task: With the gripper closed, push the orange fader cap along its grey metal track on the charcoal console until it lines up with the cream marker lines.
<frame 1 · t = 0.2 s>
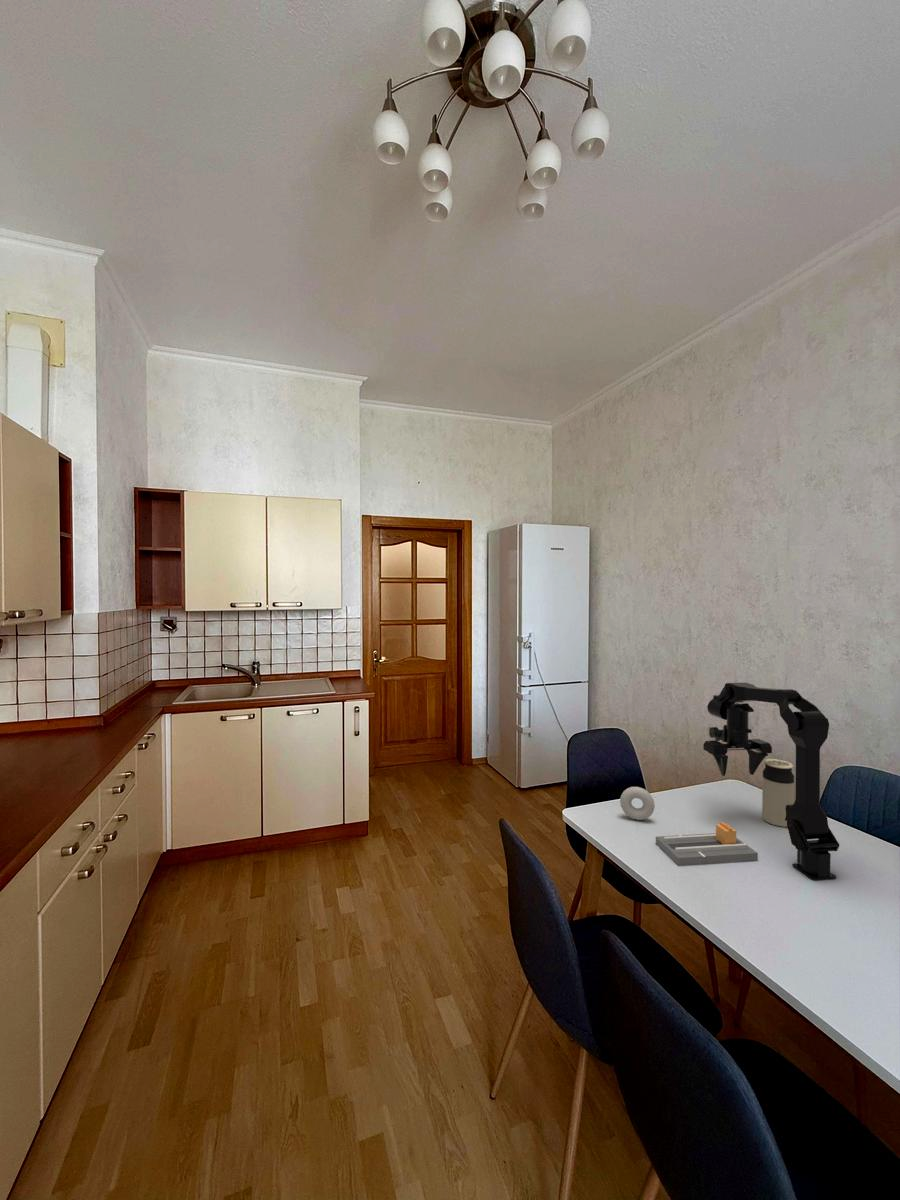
hand: (737, 775, 150), 14 cm above the table, tool pointing down, fingers open, 9 cm apart
travel mug: (777, 822, 150), on the table
console: (705, 851, 133), on the table
donut: (637, 820, 151), on the table
fader cap: (725, 833, 133), point 5 cm above the table, slide at 0.0 cm
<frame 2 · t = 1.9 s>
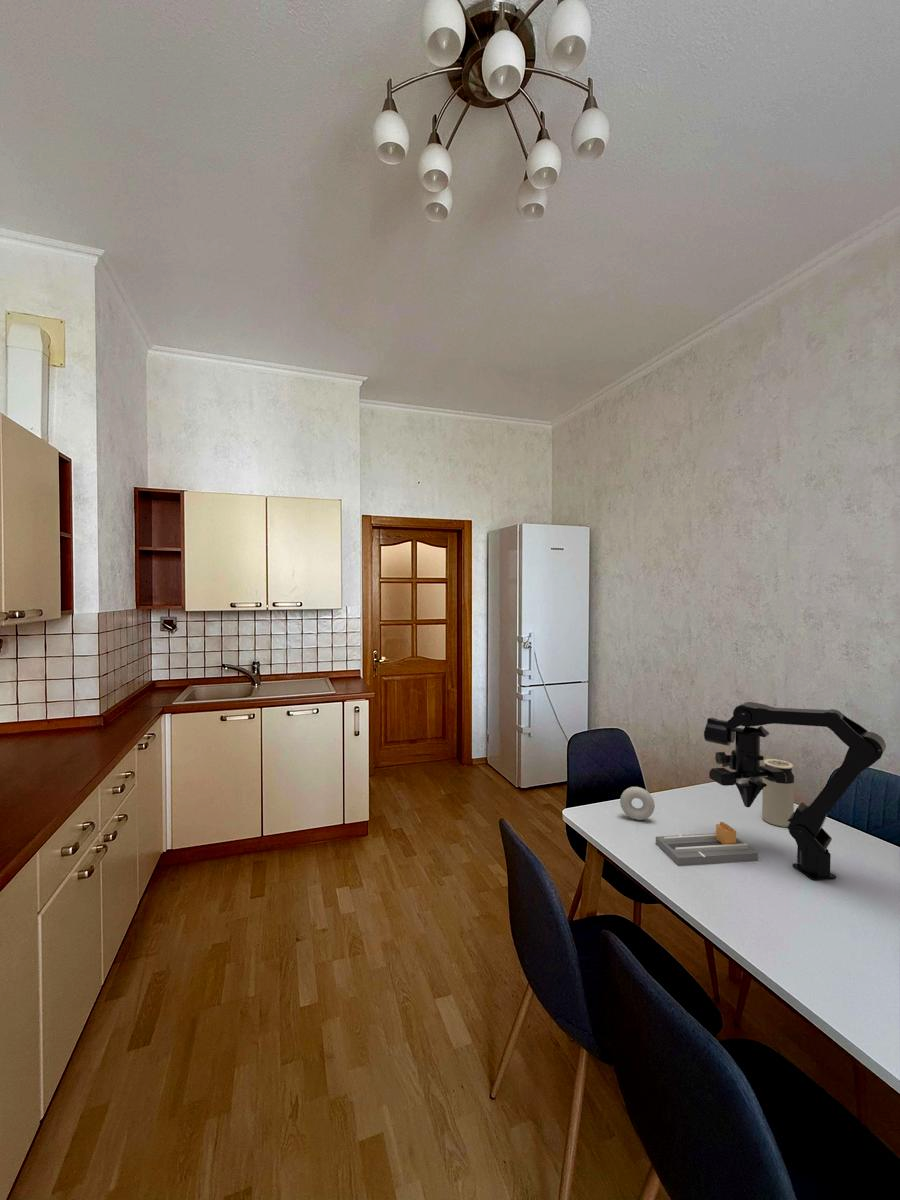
hand: (747, 806, 134), 12 cm above the table, tool pointing down, fingers closed
nothing on the table moved.
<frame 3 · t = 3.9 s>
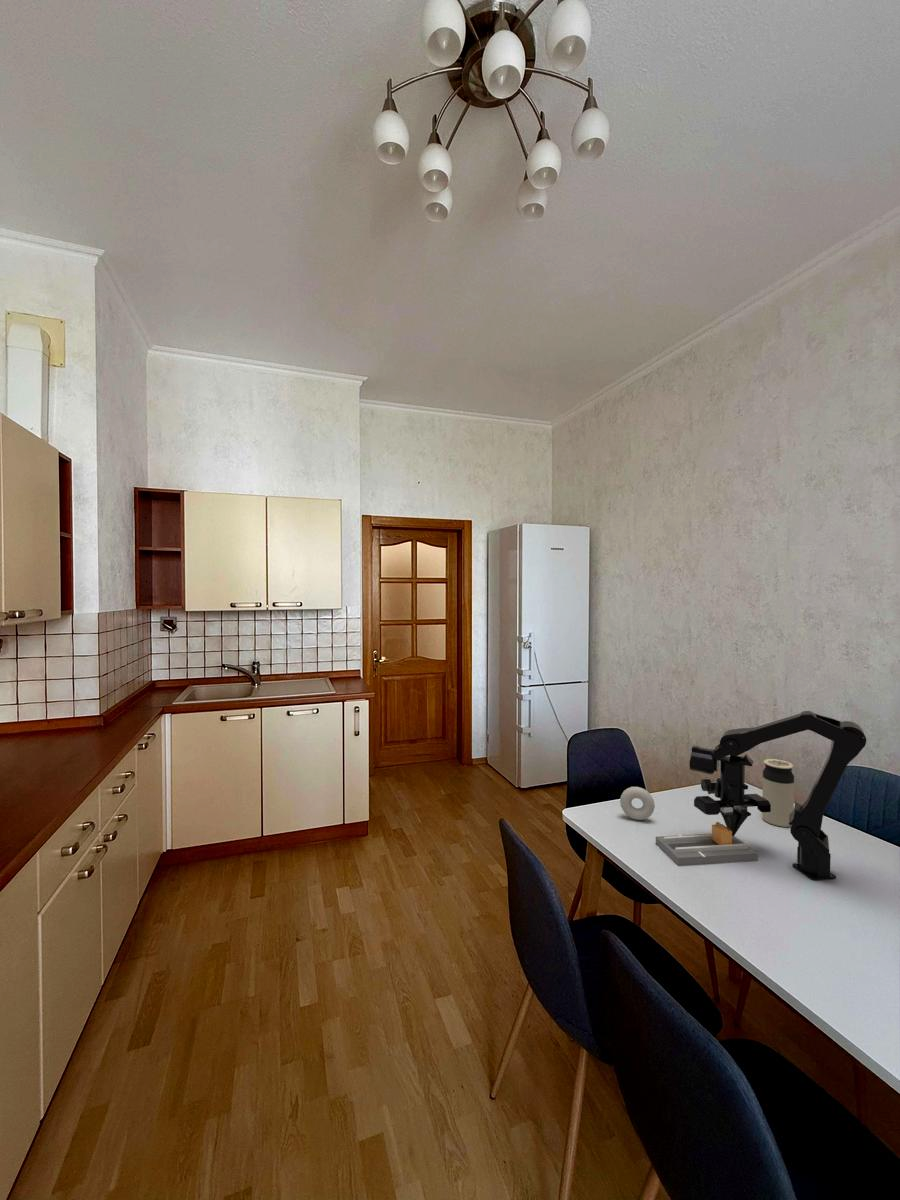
hand: (731, 835, 133), 4 cm above the table, tool pointing down, fingers closed
fader cap: (721, 834, 133), point 5 cm above the table, slide at 1.2 cm, touching gripper
everything else where it was.
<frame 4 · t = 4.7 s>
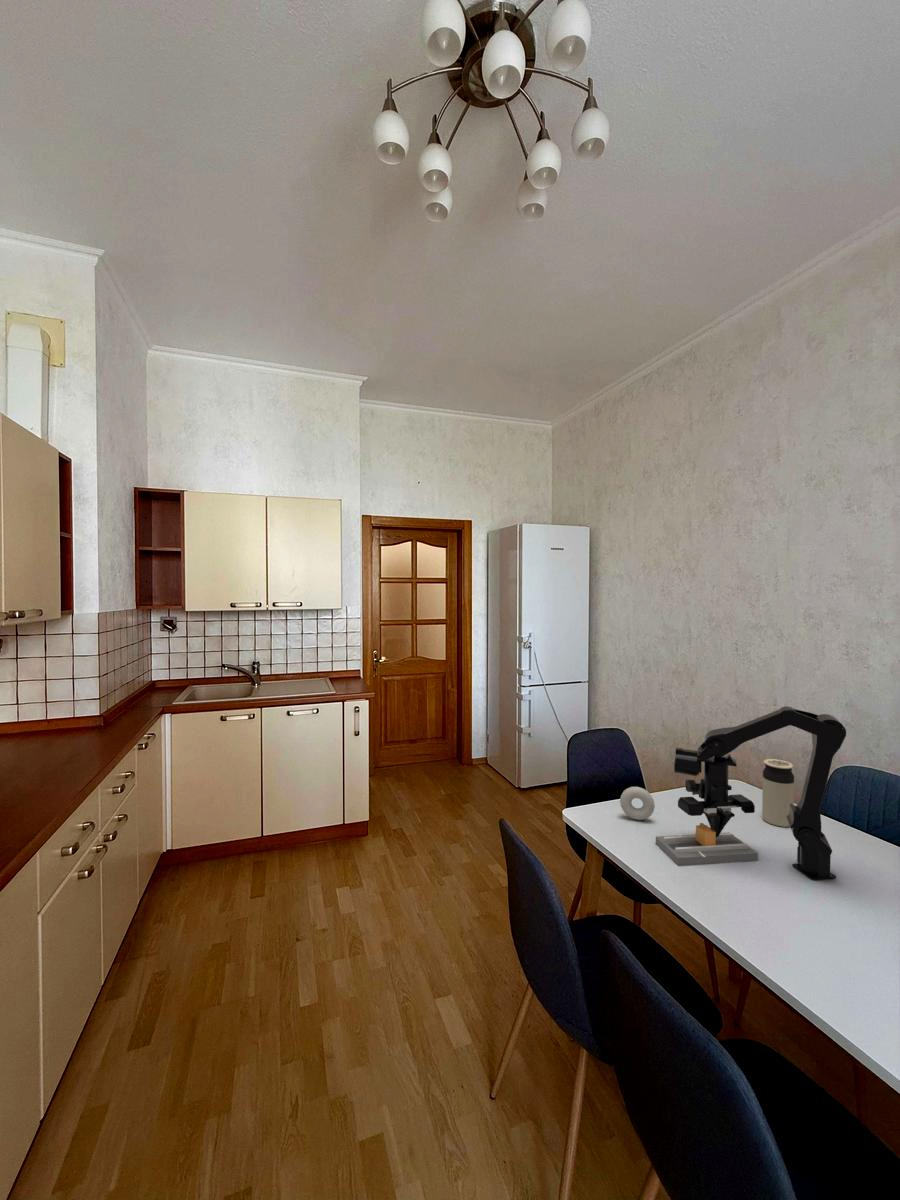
hand: (715, 836, 133), 4 cm above the table, tool pointing down, fingers closed
fader cap: (705, 834, 132), point 5 cm above the table, slide at 5.9 cm, touching gripper
everything else where it was.
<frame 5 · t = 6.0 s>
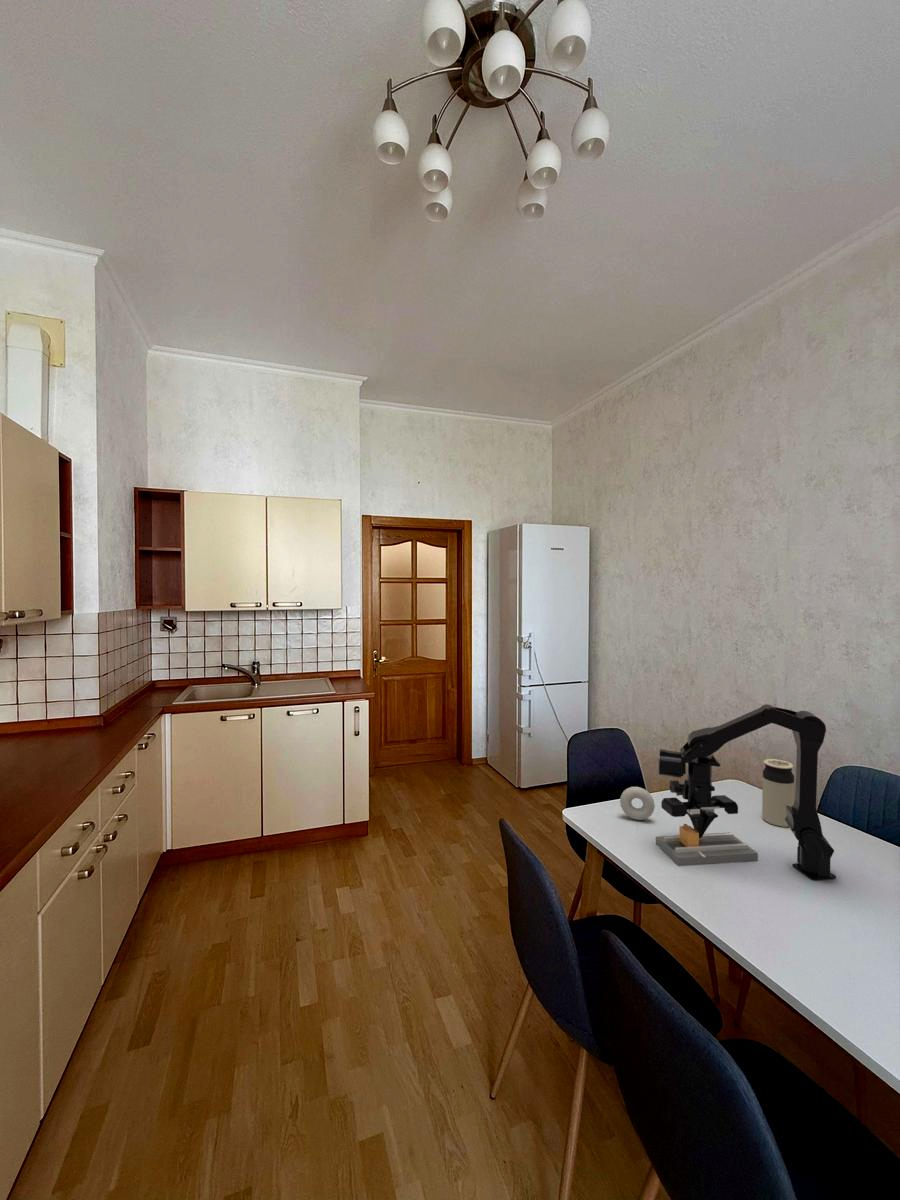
hand: (698, 837, 132), 4 cm above the table, tool pointing down, fingers closed
fader cap: (688, 835, 132), point 5 cm above the table, slide at 10.6 cm, touching gripper
everything else where it was.
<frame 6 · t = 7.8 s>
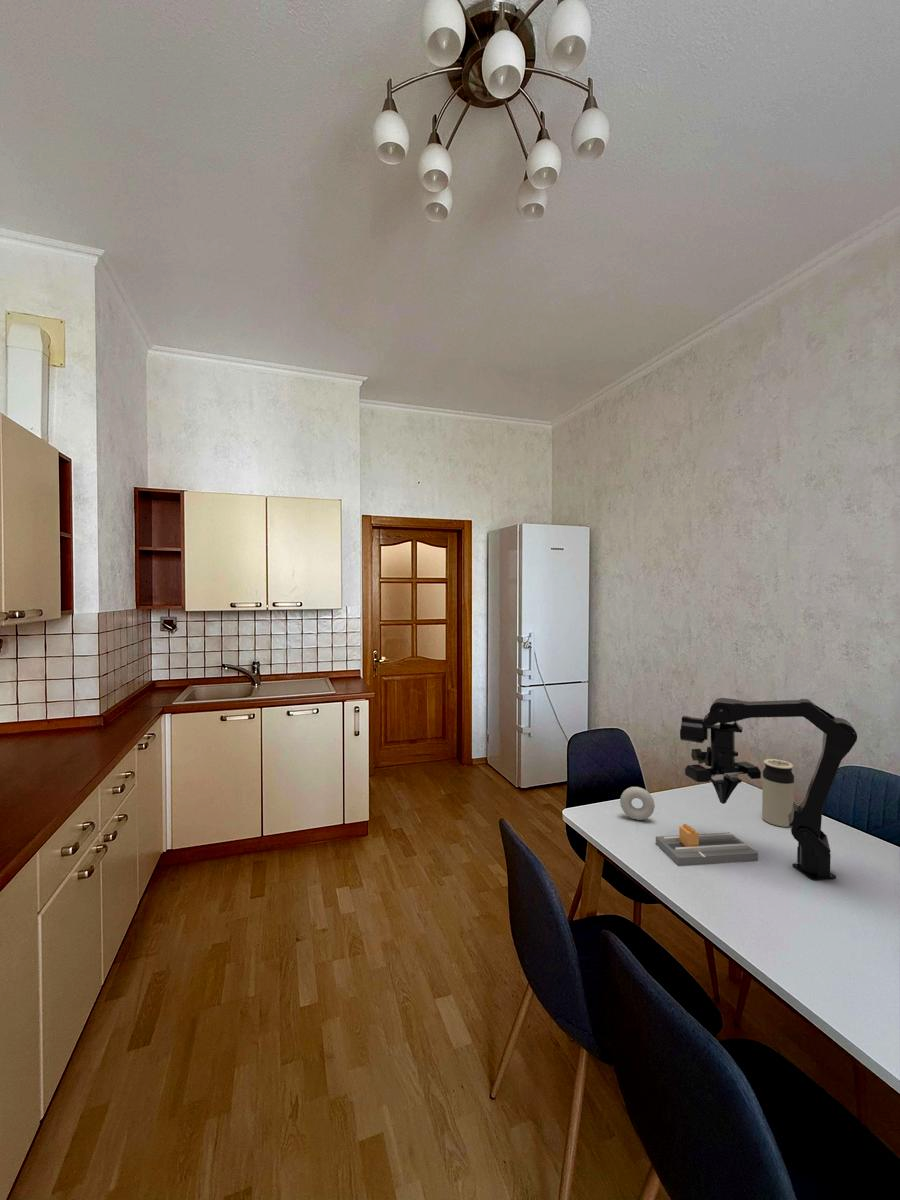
hand: (722, 803, 133), 13 cm above the table, tool pointing down, fingers closed
fader cap: (688, 835, 132), point 5 cm above the table, slide at 10.7 cm
everything else where it was.
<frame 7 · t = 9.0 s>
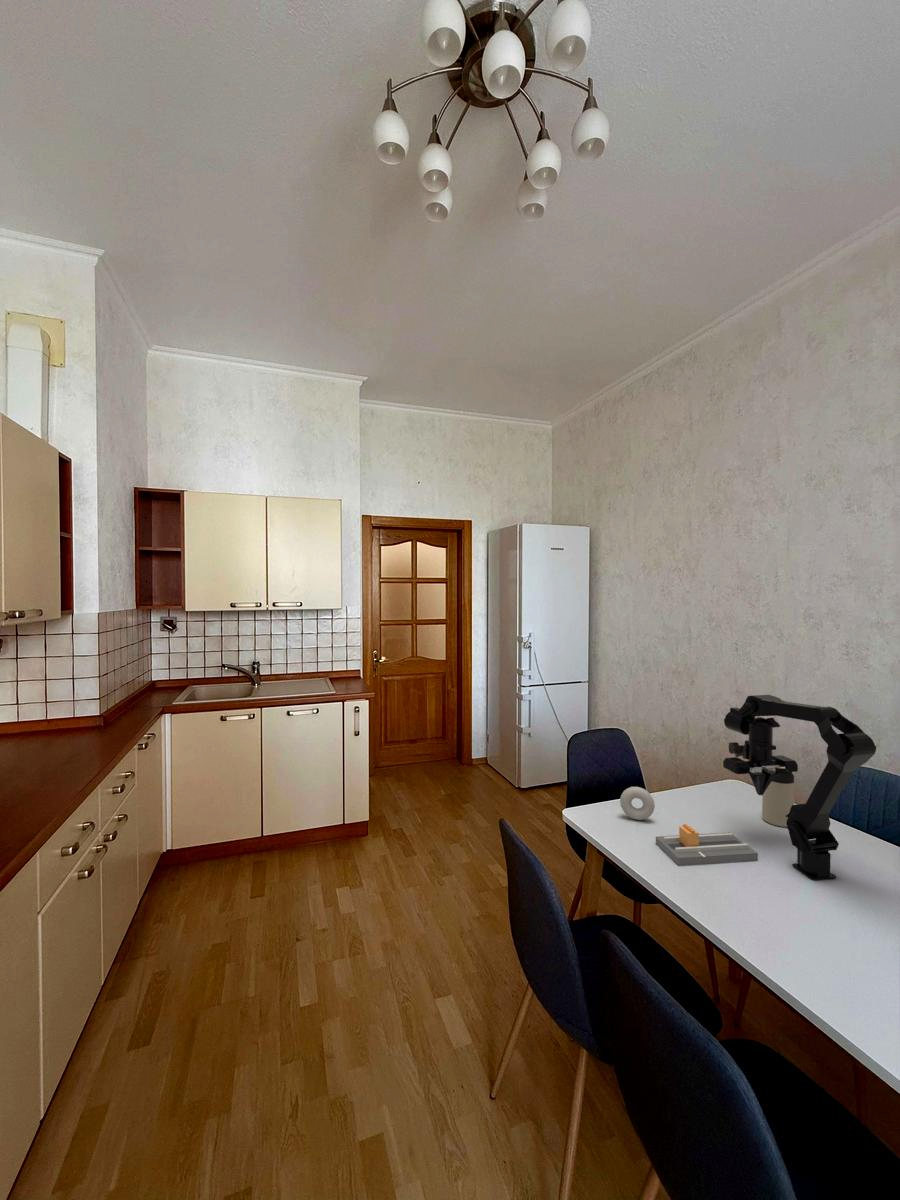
hand: (759, 794, 138), 13 cm above the table, tool pointing down, fingers closed
nothing on the table moved.
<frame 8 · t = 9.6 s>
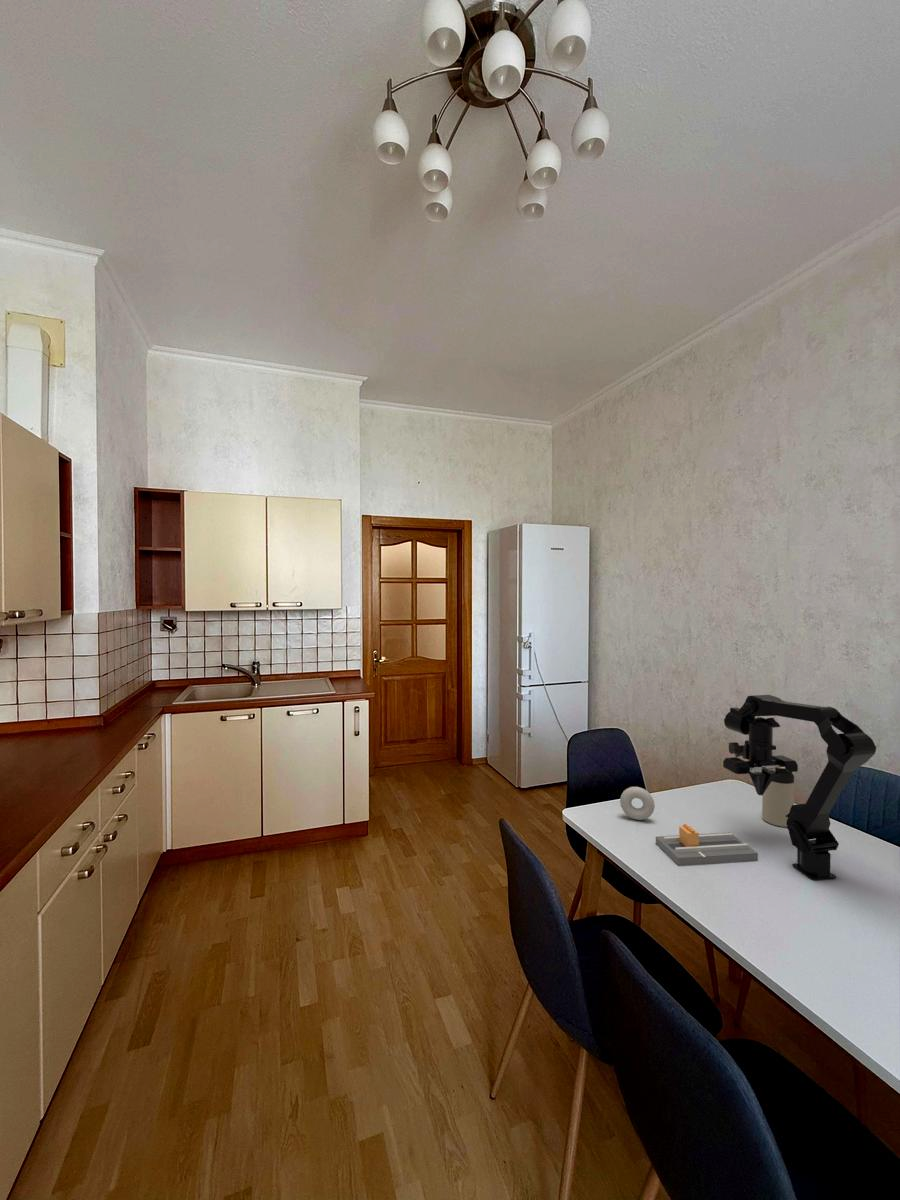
hand: (759, 794, 138), 13 cm above the table, tool pointing down, fingers closed
nothing on the table moved.
at the end: fader cap slide at 10.7 cm; donut moved 0.2 cm from its start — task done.
